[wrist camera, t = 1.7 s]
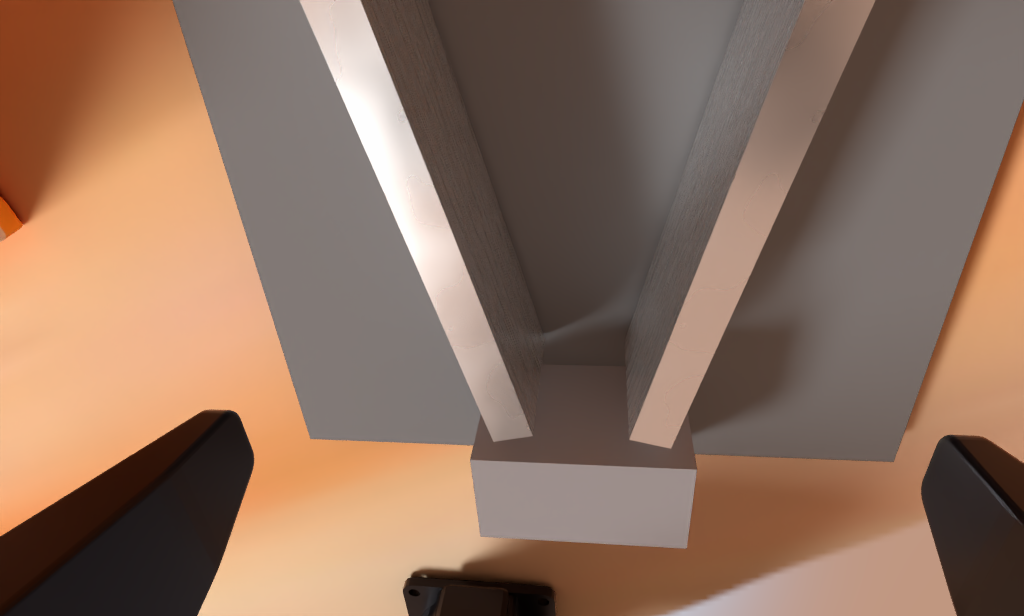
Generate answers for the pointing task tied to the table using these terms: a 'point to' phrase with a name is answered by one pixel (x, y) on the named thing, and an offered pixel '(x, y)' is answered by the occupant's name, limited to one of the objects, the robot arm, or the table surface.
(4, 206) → the supplement box
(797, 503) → the table surface
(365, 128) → the tong leg
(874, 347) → the tong mat
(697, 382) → the tong leg
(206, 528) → the robot arm
